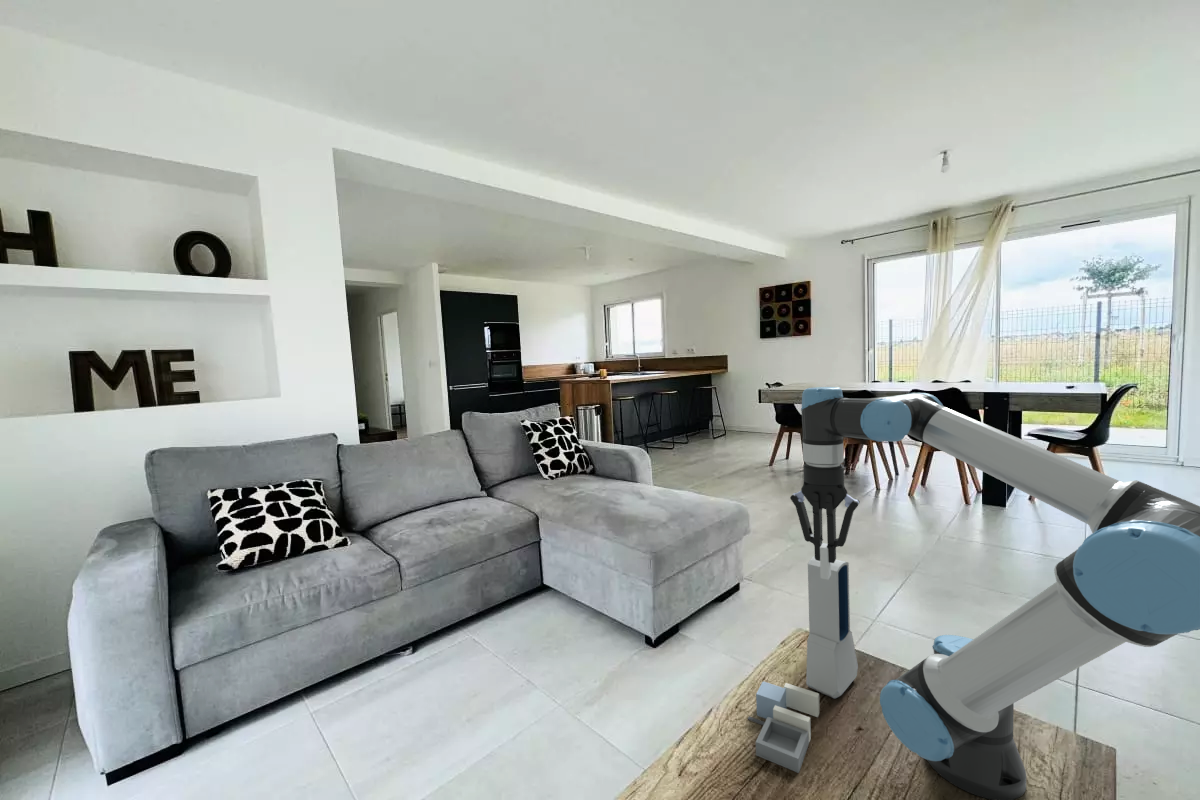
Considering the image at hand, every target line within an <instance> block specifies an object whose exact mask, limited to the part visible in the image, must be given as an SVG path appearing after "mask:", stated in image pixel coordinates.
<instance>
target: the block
mask: <svg viewBox="0 0 1200 800" xmlns="http://www.w3.org/2000/svg"><path fill="white" fill-rule="evenodd" d="M755 700H756V701H755V702H756V716H757V717H760V718H762V719H765V720H766V719H767V717H770V718H772V719H773V708H774V706H775V705H776V706H779V707H782V708H785V709H787V706H786V688H784V687H783V686H779V685H776V684H772V683H770V682H766V681H762V682H761V684H760V686H759V688H758V690H757V692H756V694H755Z"/></svg>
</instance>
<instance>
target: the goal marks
mask: <svg viewBox="0 0 1200 800" xmlns="http://www.w3.org/2000/svg"><path fill="white" fill-rule="evenodd" d="M747 721H750V722H754V723H755V724H759V725H760V726H763V725H764V723H765V721H763V720H760V719H758V718H755V717H753V716H749V715H748V717H747Z"/></svg>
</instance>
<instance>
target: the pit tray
mask: <svg viewBox="0 0 1200 800" xmlns="http://www.w3.org/2000/svg"><path fill="white" fill-rule="evenodd" d="M764 722H765V723H764V725H762V726H761V727H762V728H761V730H760V731H759V733H758V736H757V738H756V740H755V756H757V757H759V758H761V759H764V760H767V761H769V762H772V763H774V764H776V765H778V766H781V767H784V768H785V769H788V770H790V771H793V772H795V773H797V774H799V773H800V771H801V768H802V765H803V762H804V759H805V756H806V754H807V750H808V747H809V744H810V742H809V743H808V731H805V730H802V729H800V728H797V727H794V726H791V725H789V724H786V723H783V722H781V721H778V720H775V719H772V718H770V717H767V719H765V721H764Z"/></svg>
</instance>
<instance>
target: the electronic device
mask: <svg viewBox="0 0 1200 800" xmlns="http://www.w3.org/2000/svg"><path fill="white" fill-rule="evenodd" d="M849 564H850V563H849V562H848V561H843V560H839V559H836V560H835V562H834V563H831V576H830V578H829V580H827V579H822V578H821V574H820V561H818V560H816V559H815V555H814V556H812V557H811V558H810V560H809V561H808V563H807V582H808V583H807V584H808V585H807V586H808V588H807V589H808V590H807V591H808V623H809V625H808V628H809V634H808V637H807V640H806V678H805V679H806V686H807V687H808V688H811V689H812V690H814V691H817V693H818V692H819V693H821V694H823V695H825V696H827V697H830V698H832V699H837V698H839V697H841V696H842V695H843V694H844V692H846V690H847V689H848V688H849V686H851V684H852V682H854V680H855V679H856V678H857V675H858V670H859V664H858V659H857V653H856V648H855V642H854V636H853V632H852V631H851V621H850V620H851V619H850V617H851V616H850V615H851V614H850V610H851V609H850V577H849V576H850V573H849V572H850V569H849V568H850V567H849Z"/></svg>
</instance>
